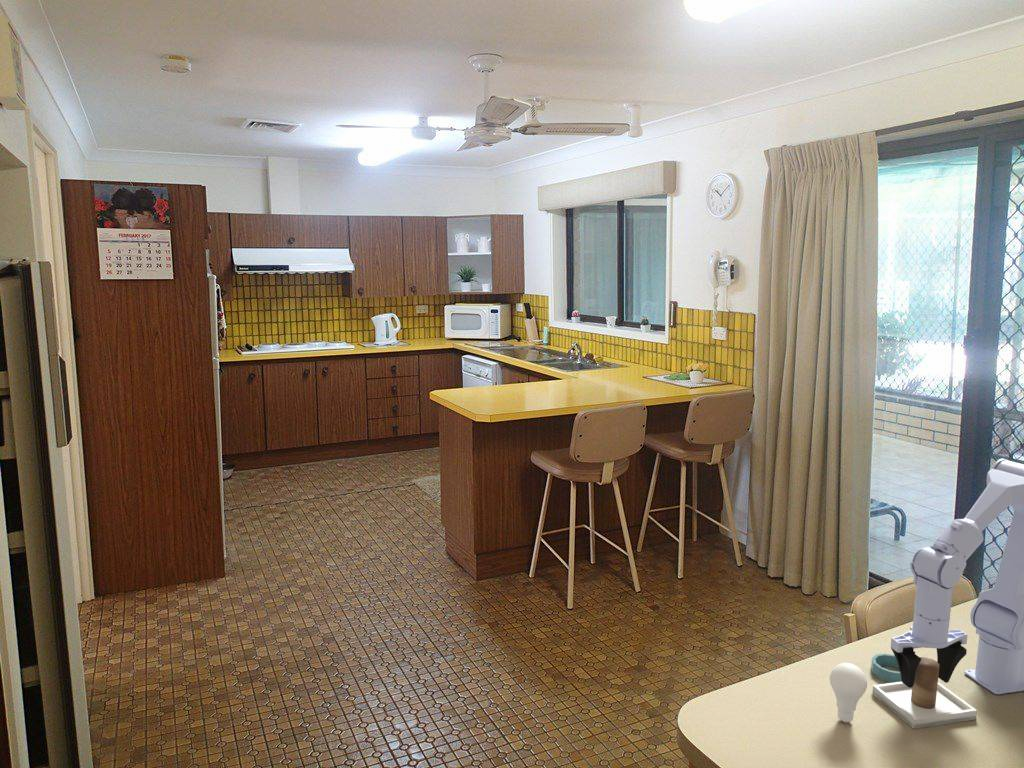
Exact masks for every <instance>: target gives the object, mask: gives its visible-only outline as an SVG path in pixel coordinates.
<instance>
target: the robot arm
mask: <svg viewBox="0 0 1024 768" xmlns="http://www.w3.org/2000/svg"><path fill="white" fill-rule="evenodd" d="M1010 506H1011V508H1012V510H1013V515H1012V518H1011V522H1010V525H1009V530H1008V533H1007V537H1006V541H1005V544H1004V549H1003V553H1002V557H1001V560H1000V564H999V567H998V571H997V575H996V579H995V583H994V587H991V588H988V589H985V590H982V591H979V593H978V597H977V600H976V602H975V603H974V604H973V606H972V608H971V610H970V623H971V625H972V626H973V627H974V628H975V634H976V635H978V643H977V653H976V661H975V663H976V664H975V668H973V669H965V670H964V673H963V674H965V675H966V676H968V678H970V679H972V680H973V681H975V682H977V683H978V684H980V685H981V686H983V687H984V688H985V689H987V690H988V691H989V692H991V693H993V694H994V695H1003V694H1008V693H1009V694H1010V693H1016V692H1017V693H1018V692H1024V463H1019V462H1016V461H1011V460H1009V459H1006V458H999V459H998V460H997V461H995V462H994V463H993V464H992V466H991V467H990V469H989V470H988V471H987V474H986V487H985V488H984V490H983V491H982V493H981V494H980V496H979V497H978V498H977V500H976V501H975V502H974V504H973V505H972V507H971V508H970V510H969V511H968V512H967V514H966V515H965V516H964V517H963V518H956V519H953V520H952V521H951V522H950V523H949V525H948V526H947V527H946V528H945V529H944V530H943V531H942V532H941V534H940V535H939V536H938V537H937V538H936V539H935V541H933V542H932V544H931V545H930V546H926V547H922V548H919V549H918V550H917V551H915V554H914V555H913V557H912V561H910V570H911V573H912V574H913V583H914V585H915V587H916V589H915V599H914V609H913V621H912V625H911V626H910V627H909V631H907V632H905V633H902V634H900V635H898V636H893V637H891V639H890V649H891V651H892V653H893V655H895V657H896V660H897V662H898V665H899V668H898V669H899V672H900V674H901V679H902V683H904V684H905V685H906V686H907V687H909V688H912V687H913V685H914V681H915V674H916V670H917V667H918V665H919V663H920V661H921V660H922V659H921V658H920V657H921V656H918V655H917V654H916V651H914V650H915V649H921V648H923V649H924V648H927V649H936V653H937V655H936V657H937V661H936V662H938V663H939V676H938V679H940V680H941V681H942V682H944V683H949V682H950V679H951V678H952V675H953V673H954V671H955V669H956V667H957V665H958V664H959V663H960V661H962V659H963V658H964V657H966V656H967V650H968V649H966V648H965V646H963V645H967V643H968V633H966V632H964V631H962V630H960V629H950V621H951V620H950V619H951V611H952V609H951V608H952V601H953V591H954V586H956V585H957V584H958V583H959V582H960V581H961V579H962V578H963V574H964V570H965V568H966V566H967V562H966V561H967V560H968V559H969V558H970V557H971V556H972V555H973V554H974V552H976V550H977V549H978V548H979V547H980V545H981V544H982V543H983V541H984V534H983V531H984V530H985V529H986V528H987V527H989V525H990V524H992V523H993V522H994V521H995V520H996V519H997V518H998V517H999V516H1000V515H1001V514H1002V513H1003V512H1004V511H1006V509H1007V508H1008V507H1010Z"/></svg>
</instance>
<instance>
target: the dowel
mask: <svg viewBox="0 0 1024 768" xmlns="http://www.w3.org/2000/svg"><path fill="white" fill-rule="evenodd" d="M919 657H920V658H921V659H922V660H921V661H920V663H919V665H918V667H917V670H916V674H915V681H914V685H913V687H912V695H911V701H912V703H913V704H915V705H916V706H919V707H921V708H925V709H932V708H934V707H935V705H936V695H937V685H938V682H939V678H938V676H939V663H938V662H937V661H936V660H934V659H933V658H929V657H924V656H919Z"/></svg>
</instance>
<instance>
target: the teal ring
mask: <svg viewBox="0 0 1024 768" xmlns="http://www.w3.org/2000/svg"><path fill="white" fill-rule="evenodd" d="M882 666H888V667H889V666H890V667H894V668H897V669H899V665H898V662H897V660H896V657H895V655H894V654H890V653H879V654H877V653H876V654H875V655H874V656H872V657H871V664H870V669H871V670H870V671H871V673H872V674H873V675H874V676H876V677H877V678H878V679H880V680H882V681H885V682H887V683H894V682H902V679H901V674H900V671H895V670H892V669H891V670H890V669H888V668H886V667H882Z"/></svg>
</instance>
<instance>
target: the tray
mask: <svg viewBox="0 0 1024 768" xmlns="http://www.w3.org/2000/svg"><path fill="white" fill-rule="evenodd" d="M871 694H872V695H873V696H874V697H875V698H877V700H878V701H880V702H881V703H882V704H883V705H885V706H886V707H887V708H888V709H889V710H891V711H892V713H894V714H895V715H897V716H898V717H899V718H900V719H901V720H902V721H904V723H906V724H907V725H909V726H910V728H912V729H914V730H915V729H922V728H928V727H935V726H943V725H949V724H955V723H961V722H967V721H974V720H977V716H978V715H977V714H978V713H977V712H978V710H977V709H976V708H975V707H973V706H972V705H971V704H969V703H968V702H967V701H965V700H964V699H962V697H959V696H958V695H956V694H955V693H954V692H953V691H951V690H950V689H948V687H946V686H944V685H943V684H942V683H940V682H939V681H938V685H937V695H936V705H935V707H934V708H932V709H925V708H921V707H919V706H916V705H915V704H913V703H912V701H911V695H912V688H909V687H907V686H906V685H905V684H904V683H902V682H894V683H891V682H887V683H880V684H873V685H872V692H871Z"/></svg>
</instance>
